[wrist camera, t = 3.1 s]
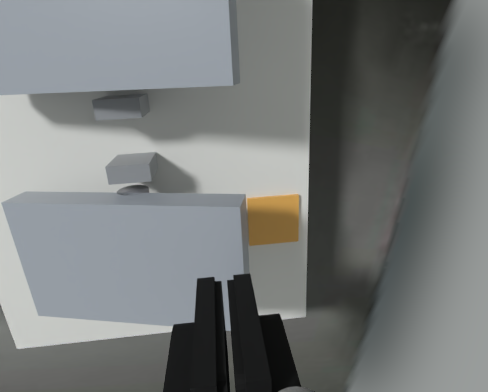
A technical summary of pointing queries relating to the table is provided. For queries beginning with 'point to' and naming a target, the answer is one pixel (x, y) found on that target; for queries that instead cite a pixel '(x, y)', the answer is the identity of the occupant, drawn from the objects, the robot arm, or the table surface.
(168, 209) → the rocker
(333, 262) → the table surface
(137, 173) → the switch unit
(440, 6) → the table surface
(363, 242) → the table surface
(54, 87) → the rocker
